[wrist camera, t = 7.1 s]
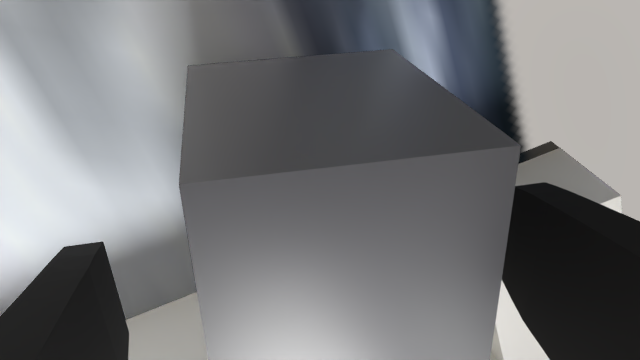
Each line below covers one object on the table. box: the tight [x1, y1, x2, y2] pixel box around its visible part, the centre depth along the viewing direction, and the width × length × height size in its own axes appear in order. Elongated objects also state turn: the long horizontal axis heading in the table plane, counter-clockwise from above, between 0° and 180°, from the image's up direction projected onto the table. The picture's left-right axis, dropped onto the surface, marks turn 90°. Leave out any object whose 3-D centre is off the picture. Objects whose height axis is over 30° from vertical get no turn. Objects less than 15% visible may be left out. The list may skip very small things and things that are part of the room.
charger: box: [179, 49, 521, 360], centre depth 10 cm, size 5×4×7 cm
